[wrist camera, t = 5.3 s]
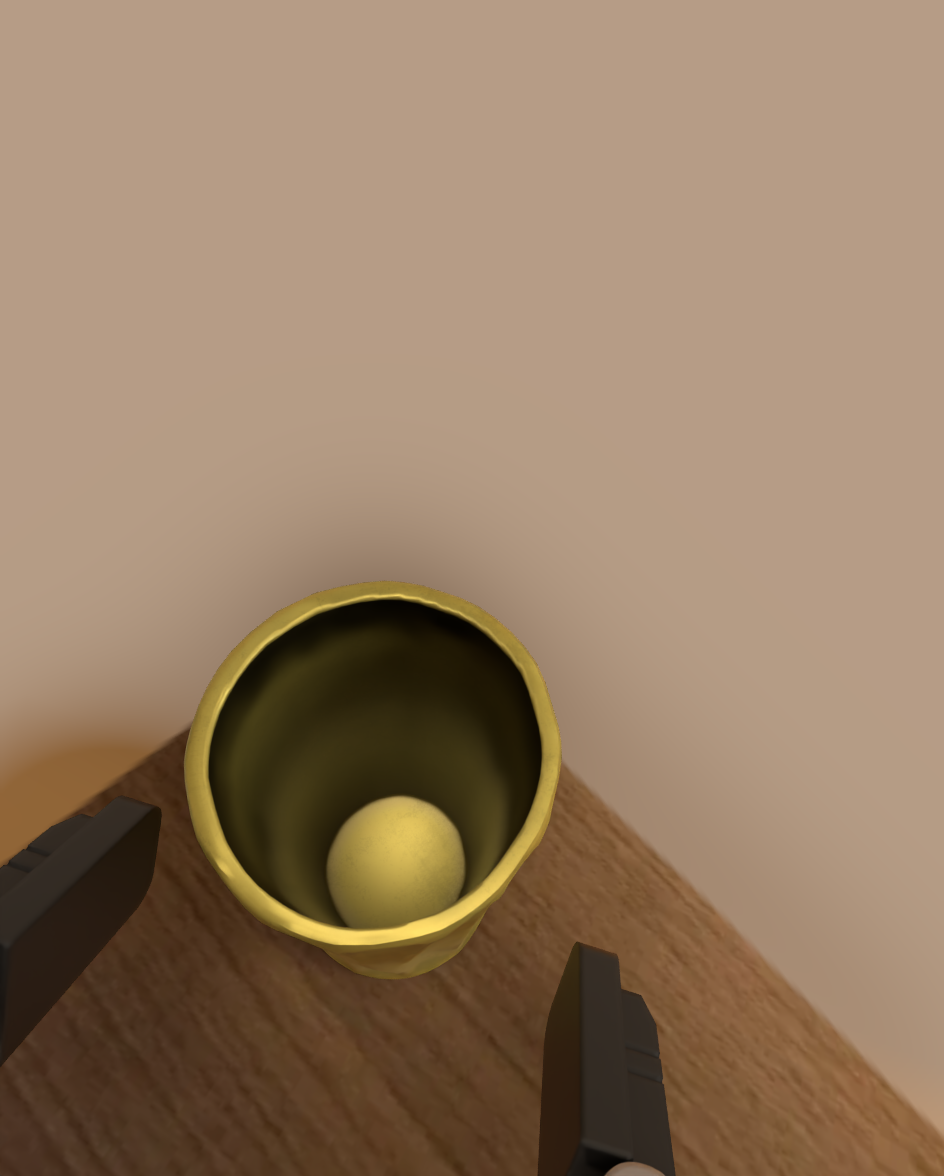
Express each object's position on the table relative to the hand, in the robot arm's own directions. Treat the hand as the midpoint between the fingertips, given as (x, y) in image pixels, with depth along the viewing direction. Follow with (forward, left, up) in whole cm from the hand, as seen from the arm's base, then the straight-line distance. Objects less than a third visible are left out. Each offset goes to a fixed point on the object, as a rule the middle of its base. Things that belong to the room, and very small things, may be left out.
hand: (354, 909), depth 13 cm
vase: (-1, +1, -10) cm, 10 cm away
